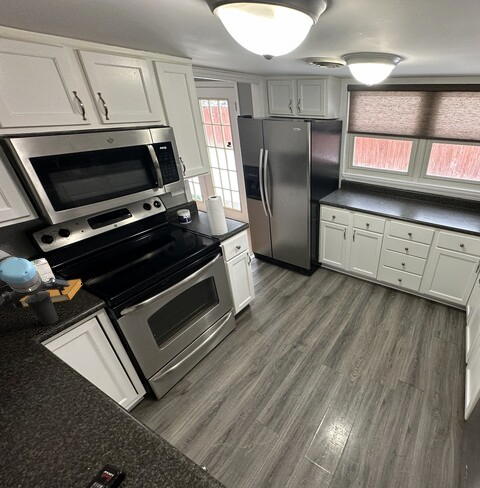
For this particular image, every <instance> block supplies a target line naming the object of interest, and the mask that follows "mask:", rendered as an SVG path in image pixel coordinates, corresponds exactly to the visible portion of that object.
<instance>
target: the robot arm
mask: <svg viewBox="0 0 480 488" xmlns="http://www.w3.org/2000/svg"><path fill="white" fill-rule="evenodd" d="M30 262H31V261H29V260H28V259H26V258H22V257H16V256H15V255H12V254H9V253H8V252H6V251H4V250H2V249H0V280H1V281H3V282H4V283H6V284H7V285H8V287H10V289H11V290H12V291H10V292H9V291H3V292H1V295H0V310H1V309H2V308H6V309H10V308H11V309H12V310H13V311H15V312H16V311H18V308H17V305H16V302H18V301H20V300H21V299H22V298H24V297H26V296H31V295H34V294H36V293H38V292H43V291H47V290H58V291H59V293H60V295H63V293H62V291H64V290H65V288H64V287H69V286H70V285H69V283H68V281H69V280H66V279H65V280H64V279H58V278H55V279H54V278H50V280H49V281H46V282H44V281H42V279H41V278H40V276H39V274H38V273H37V271H36V268H35V266H33V264H32V263H30Z"/></svg>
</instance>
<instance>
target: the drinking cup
mask: <svg viewBox="0 0 480 488" xmlns="http://www.w3.org/2000/svg"><path fill="white" fill-rule="evenodd" d="M24 301H25V303H27V304H28V305H29V306H28V307H29V308H30V309H31V311H32V312H33V313H34V314H35V316H36V317H37V318H38V320H39V321H40V322H41V323H42V325H43V326H49V325H50V326H51V325H53V324H55V323H57V322H58V321H59V317H58V313H57V311H56V309H55V306H54V302H53V303H52V300H51V297H50V293H49V292H47V291H44V292H38V293H36V294H34V295H31V296H28V297H27V298H26V299H25V300H24Z"/></svg>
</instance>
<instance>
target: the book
mask: <svg viewBox="0 0 480 488" xmlns="http://www.w3.org/2000/svg"><path fill="white" fill-rule="evenodd" d="M67 281H68V283H69V285H70V286H69V287H64V288H65V290H64V291H62V293H63V295H60V293H59V291H58V290H47V292H49V293H50V297H51V300H52V303H53V304H54V303H58V302H66V301H71V300H72V299H73V297H74V296H75V295H76V294H77V292H78V291H79V290H80V288H81V287H82V286H83V283H82V280H81V278H77V279H70V280H67ZM81 283H82V285H81ZM43 292H44V291H43ZM27 297H28V296H26V297H24V298H22V299H19V302H21V305H22V308H27V307H29V305H28V304H27V303H25V301H24V300H25V299H26V298H27Z"/></svg>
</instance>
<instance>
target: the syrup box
mask: <svg viewBox="0 0 480 488" xmlns="http://www.w3.org/2000/svg"><path fill="white" fill-rule="evenodd" d="M29 262H30V263H32V264H33V266H35V268H36V271H37V273H38V274H39V276H40V278H41V279H42V281H44V282H46V281H49V280H50V278H54V279H56V277H55V275H54V273H53V271H52V269H51V266H50V265H49V263H48V261H47V259H46V258H45V257H44V258H43V257H42V258H39V259H35V260H31V261H29Z"/></svg>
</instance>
